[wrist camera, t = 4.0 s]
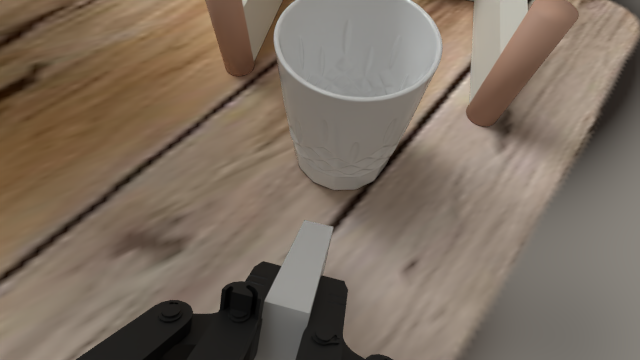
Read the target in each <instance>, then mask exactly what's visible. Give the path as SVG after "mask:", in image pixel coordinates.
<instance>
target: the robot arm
mask: <svg viewBox="0 0 640 360" xmlns="http://www.w3.org/2000/svg"><path fill="white" fill-rule="evenodd" d="M332 231H333V227H332V226H328V225H323V224H319V223H315V222H311V221H307V220H304V222H303V224H302V226H301V228H300V230H299V232H298V234H297V236H296V238H295V240H294V242H293V244H292V246H291V248H290V250H289V252H288V254H287V256H286V258H285V260H284V262H283V264H282V266H279V265H275V264H272V263H268V262H264V261H263V262H261V263H260V264H258V265H256V266H255V267H254V268H253V270H252V271H251V273H250V275H249V276H248V278H247V279H246V281H245V282H242V281H240V282H233V283H230V284H228V285H226V286H225V287H224V288H223V289H222V295H221V304H220V310H219V312H217V313H213V314H193V311H192V308H191V306H190V305H188V304H187V303H186V302H182V301H179V300H169V301H165V302H161V303H159V304H157V305H155V306H154V307H152V308H151V309H149V310H148V311H146V312H145V313H143V314H142V315H140V316H139V317H138V318H136V319H135V320H133V321H132V322H130V323H129V324H127V325H126V326H124V327H123V328H121V329H120V330H118V331H117V332H116V333H114V334H113V335H111V336H110V337H108V338H107V339H105V340H104V341H102V342H101V343H99V344H98V345H96V346H95V347H94V348H92V349H91V350H89V351H88V352H86V353H85V354H83V355H82V356H80V357H79V358H77V359H76V360H254V358H255V360H393V359H391V358H389V357H387V356H384V355H380V354H376V355H371V356H369V357H367V358H366V359H364V358H362V357H361V356H359V355H357V354H356V353H354V352H353V351H352V350H351V349H350V348H349V347H348V346H347V345H346V343H345V342H344V339H343V325H344V317H345V309H346V301H347V293H348V289H347V287H346V284H345V282H344V281H341V280H337V279H333V278H330V277H326V276H323V272H324V267H325V263H326V258H327V254H328V249H329V245H330V240H331V236H332Z"/></svg>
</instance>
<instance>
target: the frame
mask: <svg viewBox="0 0 640 360" xmlns="http://www.w3.org/2000/svg"><path fill="white" fill-rule="evenodd" d="M205 1H206V4H207V8H208V11H209V14H210V18H211V21H212V24H213V28H214V31H215V34H216V38H217V41H218V44H219V48H220V51H221V54H222V58H223V61H224V64H225V68H226V70H227V72H228V73H230V74H231V75H234V76H243V75H246V74H248V73H250V72H251V71H252V70H253V68H254V61H255V59H256V56H257V54H258V52H259V50H260V48H261V46H262V44H263V41H264V39H265V37H266V35H267V33H268V31H269V28H270V26H271V24H272V22H273V20H274V18H275V16H276V13H277V11H278V9H279V7H280V5H281V3H282V1H283V0H205ZM469 1H474V15H473V35H472V56H471V77H470V97H469V105H468V107H467V109H466V113H467V116H468V118H469V119H470V120H471V121H472V122H473V123H475V124H477V125H479V126H491V125H493V124H494V123H495V122H496V121H497V120H498V118H499V117H500V116H501V115H502V113H503V112H504V111H505V110H506V108H507V107H508V106H509V105H510V103H511V102H512V101H513V100H514V98H515V97H516V96H517V95H518V93H519V92H520V91H521V90H522V88H523V87H524V86H525V84H526V83H527V82H528V81H529V79H530V78H531V77H532V76H533V74H534V73H535V72H536V71H537V69H538V68H539V67H540V66H541V64H542V63H543V62H544V61H545V59H546V58H547V57H548V56H549V54H550V53H551V52H552V51H553V49H554V48H555V47H556V46H557V44H558V43H559V42H560V41H561V39H562V38H563V37H564V35H565V34H566V33H567V32H568V30H569V29H570V28H571V27H572V25H573V24H574V23H575V22H576V20H577V19H578V16H579V14H578V11H577V9H576V8H575V7H574V6H573V5H572V4H571V3H570V2H568V1H566V0H535V1H534V3H533V4H532V6H531V7H530V9H529V11H528V3H527V0H469Z"/></svg>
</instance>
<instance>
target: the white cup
mask: <svg viewBox="0 0 640 360" xmlns="http://www.w3.org/2000/svg"><path fill="white" fill-rule="evenodd" d="M274 47H275V53H276V58H277V64H278V70H279V75H280V81H281V87H282V93H283V99H284V106H285V110H286V114H287V120H288V125H289V129H290V134H291V138H292V140H293V143H294V149H295V153H296V156H297V160H298V164H299V167H300V168H301V169H302V170H303V172H304V173H305V174H306V175H307V176H308V177H309V178H310V179H311V180H312V181H313V182H315V183H317V184H320V185H322V186H325V187H327V188H330V189H332V190H355V189H358V188H360V187H362V186H364V185H366V184H368V183H370V182H372V181H374V180H375V179H376V178H377V176H378V175H379V174H380V172H381V171H382V170H383V168H384V167H385V166H386V164H387V162H388V160H389V158H390V156H391V155H392V153H393V152H394V150H395V148H396V147H397V145H398V143H399V141H400V139H401V138H402V136H403V134H404V132H405V131H406V129H407V127H408V125H409V123H410V121H411V119H412V117H413V115H414V113H415V111H416V109H417V107H418V105H419V103H420V101H421V99H422V97H423V95H424V93H425V91H426V89H427V87H428V85H429V83H430V81H431V79H432V77H433V75H434V73H435V71H436V69H437V67H438V65H439V63H440V60H441V56H442V39H441V35H440V32H439V30H438V28H437V26H436V24H435V22H434V21H433V20H432V18H431V17H430V16H429V15H428V13H427V12H426V11H425V10H423V9H422V8H421V7H420V6H419V5H417V4H416V3H415V2H413V1H412V0H295V1H294V2H292V3H291V4H290V5H289V6H288V7H287V8H286V9H285V10H284V11H283V13H282V14H281V16H280V17H279V19H278V21H277V24H276V26H275V30H274Z"/></svg>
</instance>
